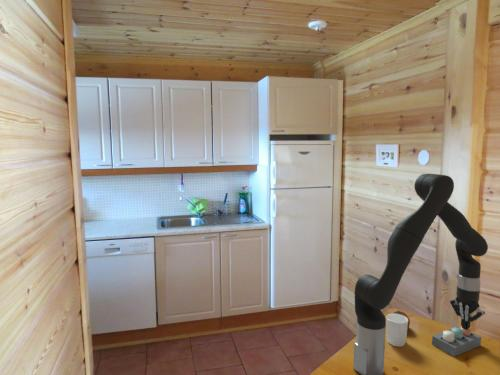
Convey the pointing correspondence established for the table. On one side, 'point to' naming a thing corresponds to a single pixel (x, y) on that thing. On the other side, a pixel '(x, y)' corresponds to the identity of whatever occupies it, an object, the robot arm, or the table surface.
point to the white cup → (396, 329)
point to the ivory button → (448, 336)
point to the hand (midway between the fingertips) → (465, 328)
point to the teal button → (457, 333)
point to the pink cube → (466, 332)
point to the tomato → (403, 315)
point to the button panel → (456, 343)
